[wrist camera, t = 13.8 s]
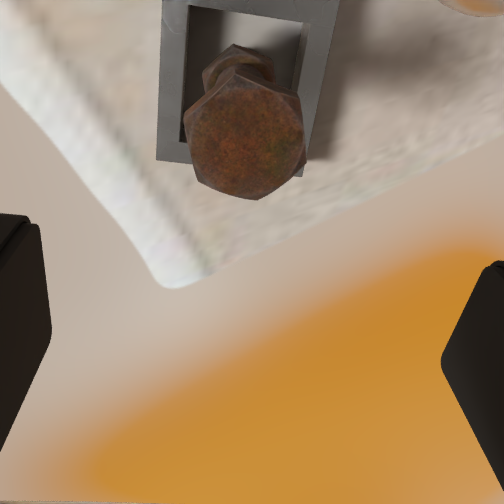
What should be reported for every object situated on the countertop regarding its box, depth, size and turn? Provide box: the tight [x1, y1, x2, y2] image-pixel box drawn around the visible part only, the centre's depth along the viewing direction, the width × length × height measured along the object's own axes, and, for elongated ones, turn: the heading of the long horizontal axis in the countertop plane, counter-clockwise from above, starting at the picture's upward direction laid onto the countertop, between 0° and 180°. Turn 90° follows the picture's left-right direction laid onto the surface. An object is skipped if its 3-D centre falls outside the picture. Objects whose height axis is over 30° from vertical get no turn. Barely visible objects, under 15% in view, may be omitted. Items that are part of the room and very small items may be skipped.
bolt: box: [183, 44, 307, 200], centre depth 27 cm, size 6×5×15 cm
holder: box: [156, 0, 340, 177], centre depth 32 cm, size 10×12×3 cm
